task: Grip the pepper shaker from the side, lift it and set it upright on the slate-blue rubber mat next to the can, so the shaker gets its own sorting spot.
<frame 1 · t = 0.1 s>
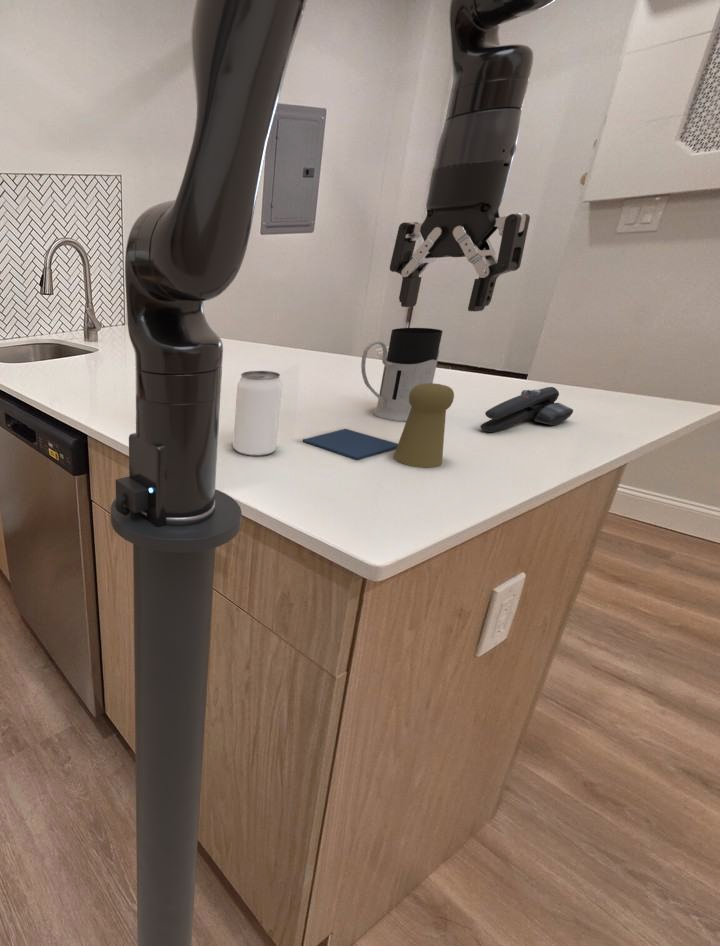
hand: (440, 308, 67), 21 cm above the worktop, tool pointing down, fingers open, 8 cm apart
glass holder: (387, 417, 95), on the worktop
pepper shaker: (416, 460, 76), on the worktop
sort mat: (350, 444, 83), on the worktop
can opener: (517, 425, 87), on the worktop
can: (253, 450, 83), on the worktop
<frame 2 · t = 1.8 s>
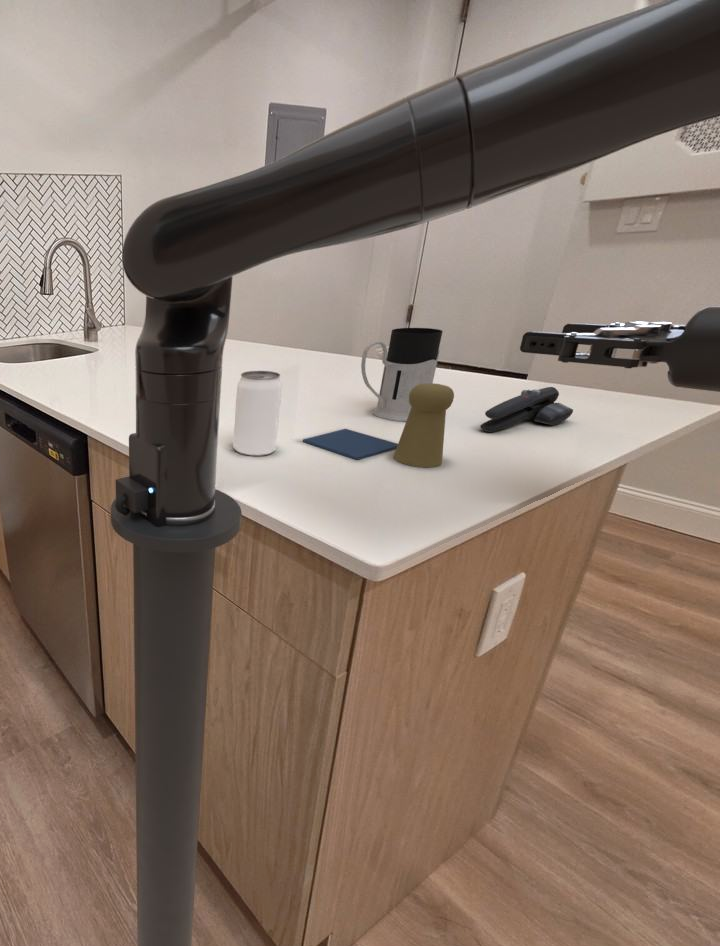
hand: (543, 337, 59), 18 cm above the worktop, tool horizontal, fingers open, 8 cm apart
nothing on the worktop moved.
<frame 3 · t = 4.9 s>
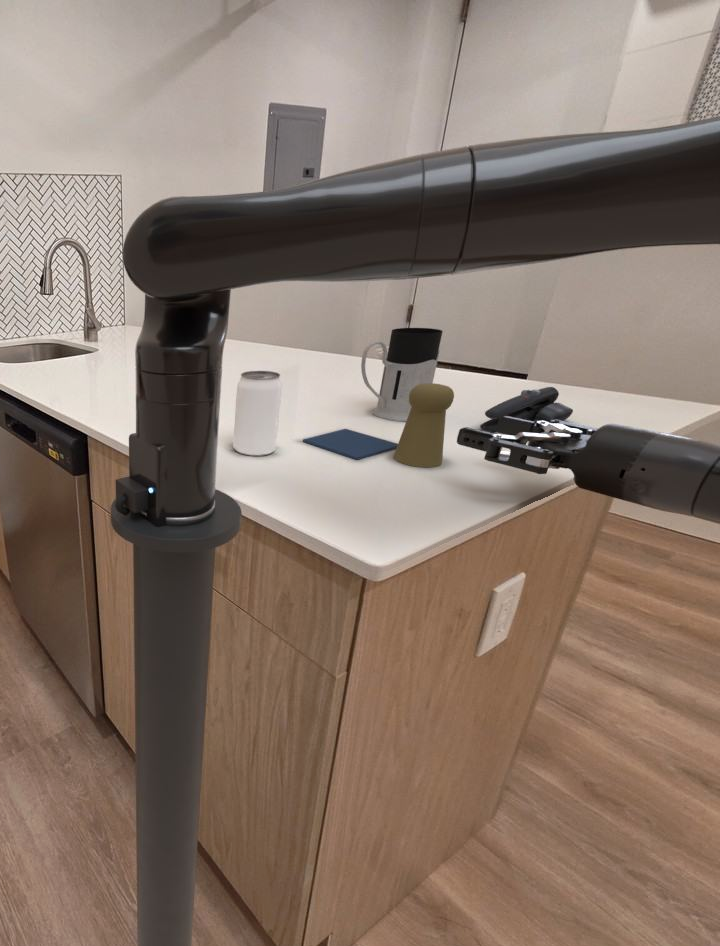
hand: (479, 429, 67), 6 cm above the worktop, tool horizontal, fingers open, 8 cm apart
nothing on the worktop moved.
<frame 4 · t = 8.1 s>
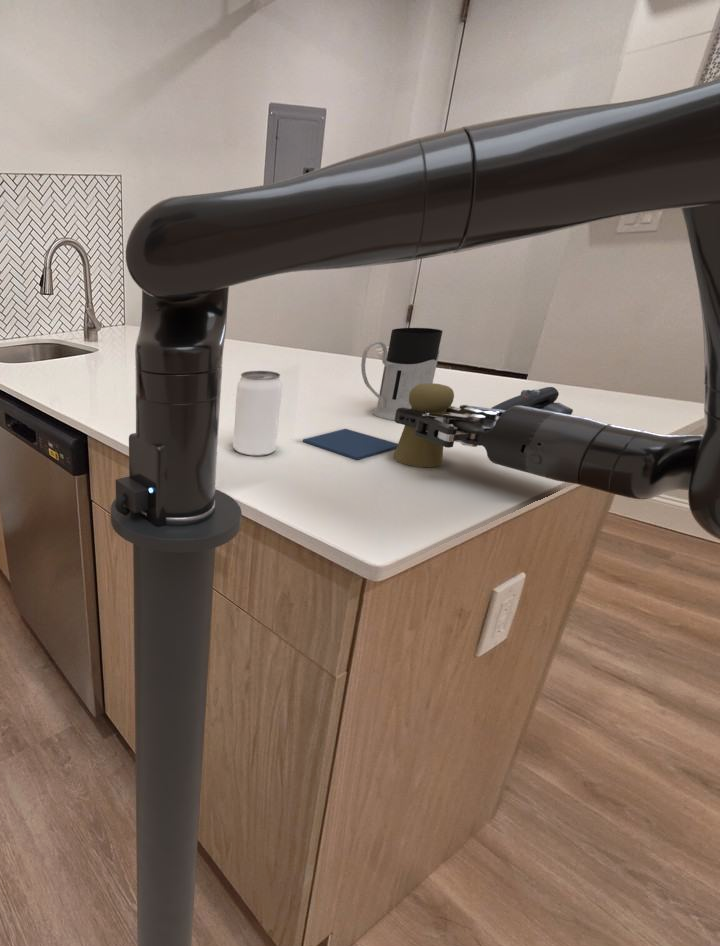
hand: (407, 412, 75), 7 cm above the worktop, tool horizontal, fingers closed on pepper shaker, 4 cm apart
pepper shaker: (417, 460, 76), on the worktop, touching gripper
everything else where it was.
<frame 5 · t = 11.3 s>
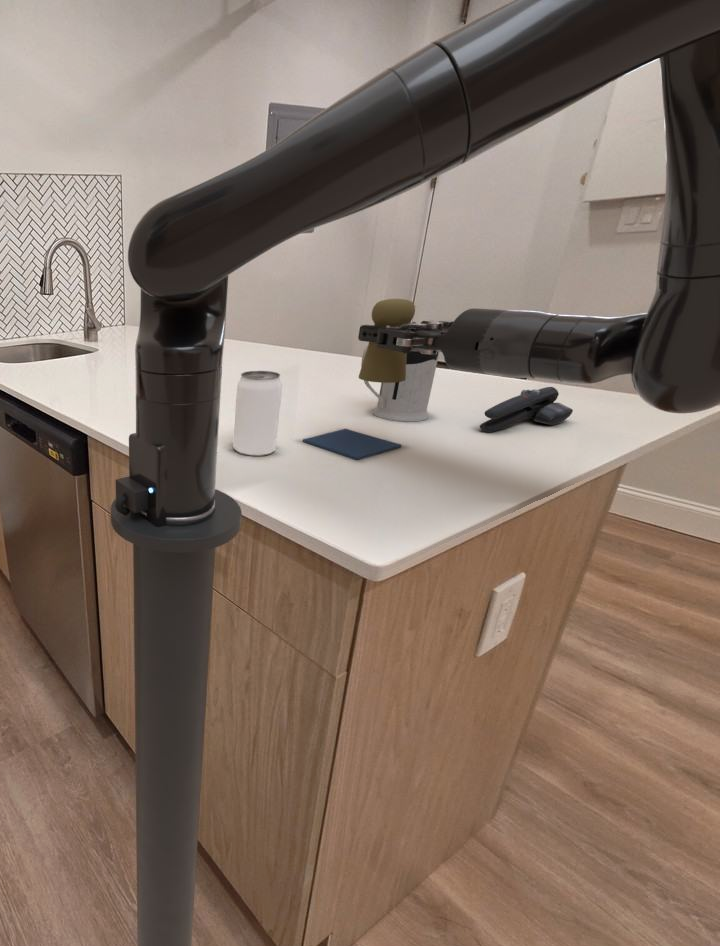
hand: (371, 331, 76), 17 cm above the worktop, tool horizontal, fingers closed on pepper shaker, 4 cm apart
pepper shaker: (381, 379, 76), point 11 cm above the worktop, touching gripper
everything else where it was.
when the fingers open (7 cm above the worktop, at t = 14.9 s): pepper shaker stays where it is, resting on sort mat.
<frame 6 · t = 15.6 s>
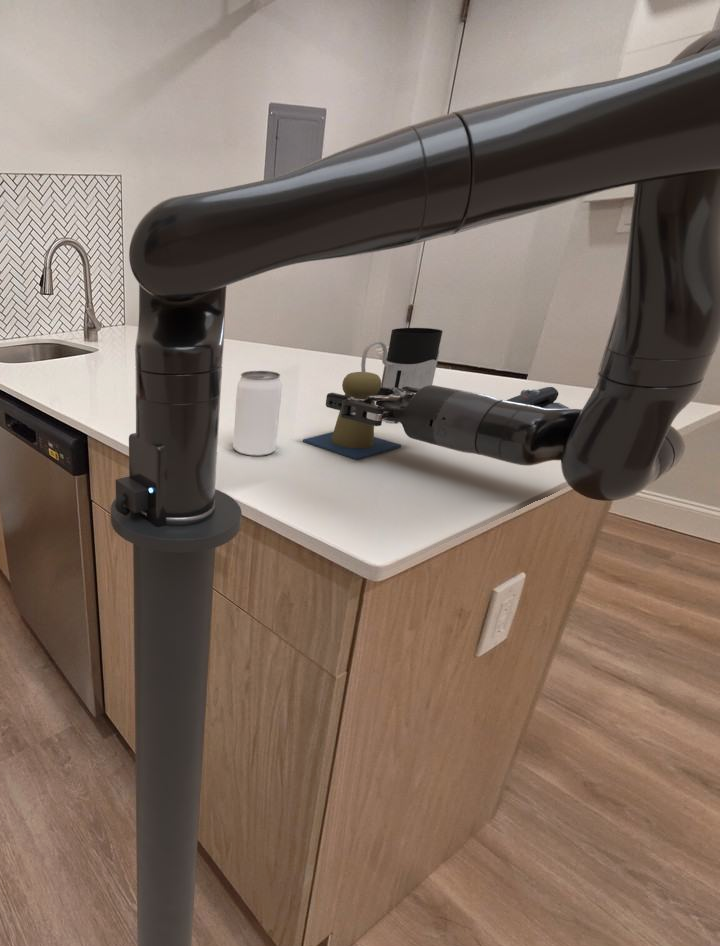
hand: (347, 395, 81), 8 cm above the worktop, tool horizontal, fingers open, 8 cm apart
pepper shaker: (351, 443, 82), resting on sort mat
everything else where it was.
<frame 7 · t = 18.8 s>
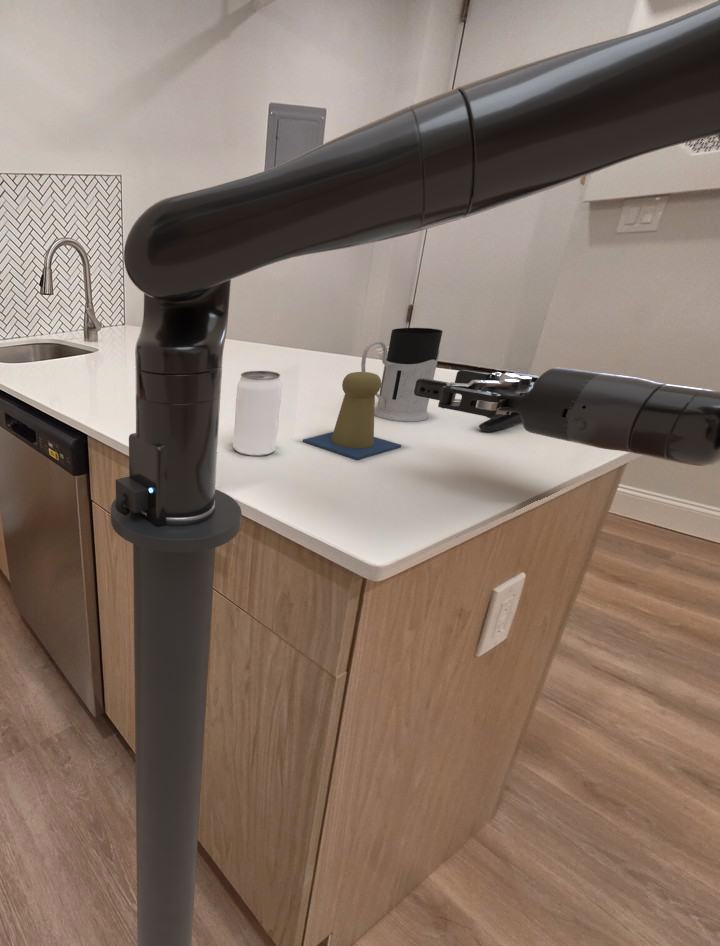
hand: (437, 381, 69), 12 cm above the worktop, tool horizontal, fingers open, 8 cm apart
nothing on the worktop moved.
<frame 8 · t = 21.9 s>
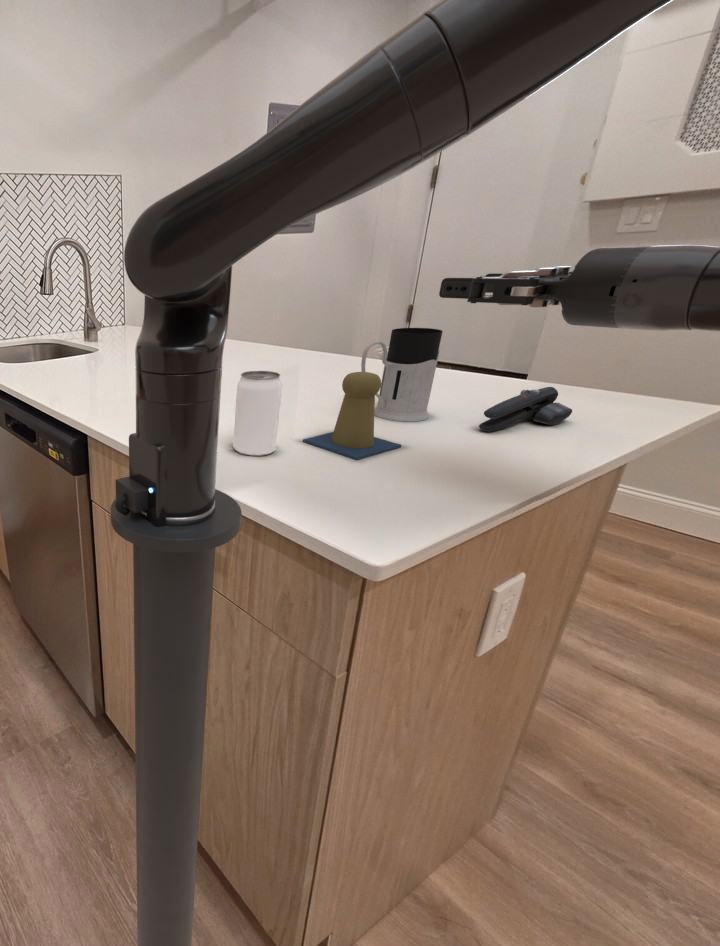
hand: (463, 285, 64), 24 cm above the worktop, tool horizontal, fingers open, 8 cm apart
nothing on the worktop moved.
at the end: pepper shaker inside the target area (0.2 cm from its centre), resting on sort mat; pepper shaker tilted 0°; can moved 0.2 cm from its start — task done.
